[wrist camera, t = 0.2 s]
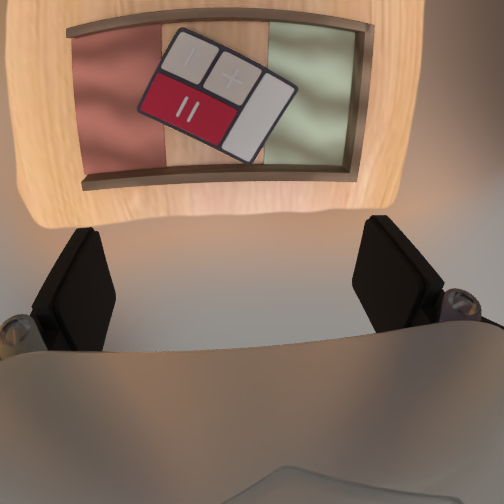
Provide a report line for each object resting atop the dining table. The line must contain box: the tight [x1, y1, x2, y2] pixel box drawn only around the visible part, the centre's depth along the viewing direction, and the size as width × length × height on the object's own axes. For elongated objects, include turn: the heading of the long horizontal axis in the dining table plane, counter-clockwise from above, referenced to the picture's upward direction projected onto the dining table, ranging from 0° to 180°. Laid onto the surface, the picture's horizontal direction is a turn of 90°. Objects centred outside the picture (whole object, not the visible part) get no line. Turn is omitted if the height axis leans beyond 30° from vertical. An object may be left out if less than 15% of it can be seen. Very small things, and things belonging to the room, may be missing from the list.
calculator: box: [137, 28, 298, 165], centre depth 33 cm, size 11×4×15 cm
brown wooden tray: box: [66, 8, 374, 191], centre depth 34 cm, size 21×36×3 cm, turn 88°
